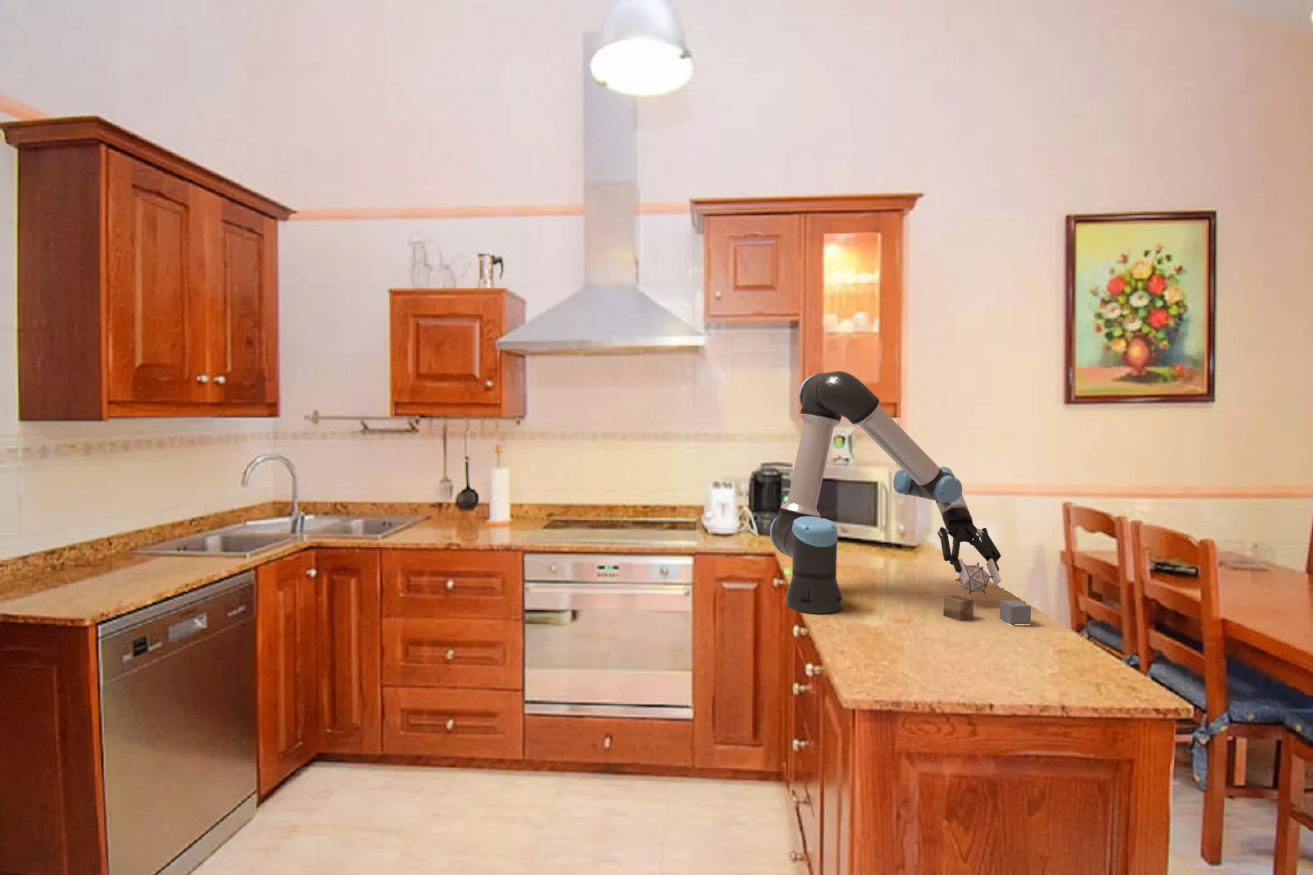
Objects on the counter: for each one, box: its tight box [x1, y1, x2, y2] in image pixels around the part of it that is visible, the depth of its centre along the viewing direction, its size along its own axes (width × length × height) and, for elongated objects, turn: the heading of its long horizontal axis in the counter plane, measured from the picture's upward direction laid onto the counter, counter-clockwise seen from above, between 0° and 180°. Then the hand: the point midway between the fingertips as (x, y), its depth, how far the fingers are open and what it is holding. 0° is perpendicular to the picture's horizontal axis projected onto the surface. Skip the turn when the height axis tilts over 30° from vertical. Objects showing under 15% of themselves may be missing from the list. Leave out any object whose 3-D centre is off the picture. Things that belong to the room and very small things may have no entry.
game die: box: [954, 562, 993, 595], centre depth 186 cm, size 9×8×10 cm
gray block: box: [999, 599, 1032, 625], centre depth 170 cm, size 5×5×5 cm
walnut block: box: [942, 594, 975, 622], centre depth 175 cm, size 5×5×5 cm
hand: (982, 582), depth 183 cm, fingers closed on game die, 8 cm apart
